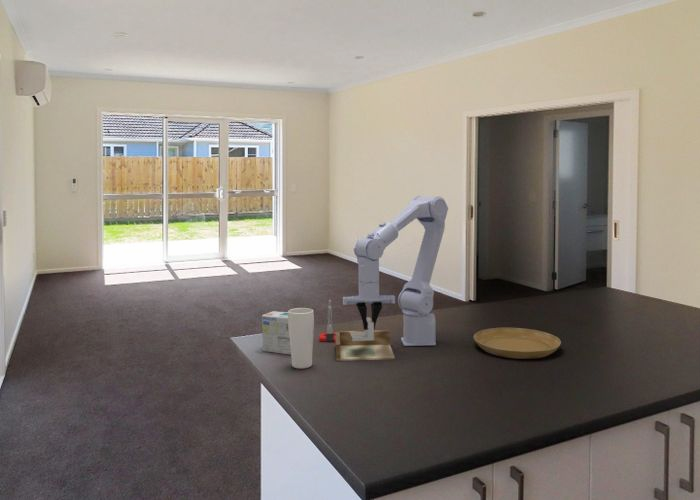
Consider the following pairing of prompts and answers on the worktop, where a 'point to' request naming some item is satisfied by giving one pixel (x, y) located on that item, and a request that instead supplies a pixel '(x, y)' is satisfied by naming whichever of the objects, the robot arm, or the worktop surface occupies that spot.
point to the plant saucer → (517, 342)
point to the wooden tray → (344, 339)
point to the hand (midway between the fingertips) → (369, 328)
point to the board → (365, 352)
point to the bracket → (365, 335)
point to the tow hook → (328, 328)
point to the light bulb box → (276, 332)
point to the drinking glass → (301, 336)
